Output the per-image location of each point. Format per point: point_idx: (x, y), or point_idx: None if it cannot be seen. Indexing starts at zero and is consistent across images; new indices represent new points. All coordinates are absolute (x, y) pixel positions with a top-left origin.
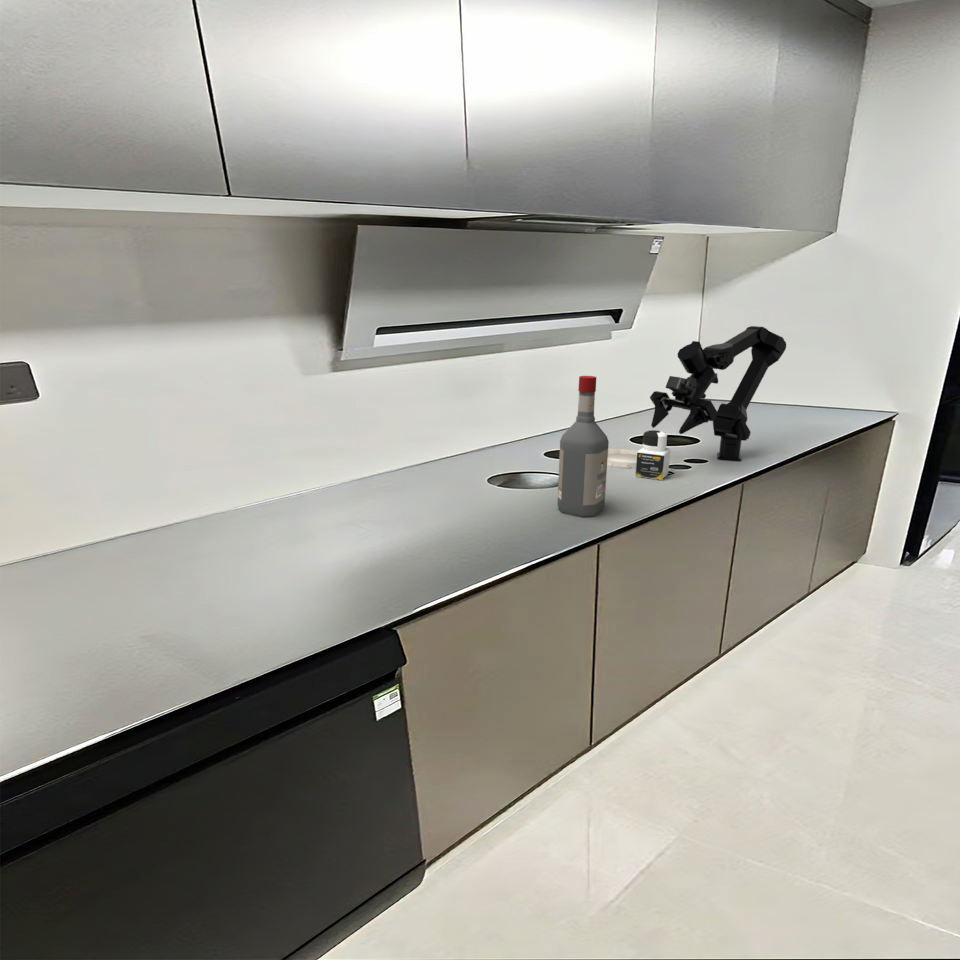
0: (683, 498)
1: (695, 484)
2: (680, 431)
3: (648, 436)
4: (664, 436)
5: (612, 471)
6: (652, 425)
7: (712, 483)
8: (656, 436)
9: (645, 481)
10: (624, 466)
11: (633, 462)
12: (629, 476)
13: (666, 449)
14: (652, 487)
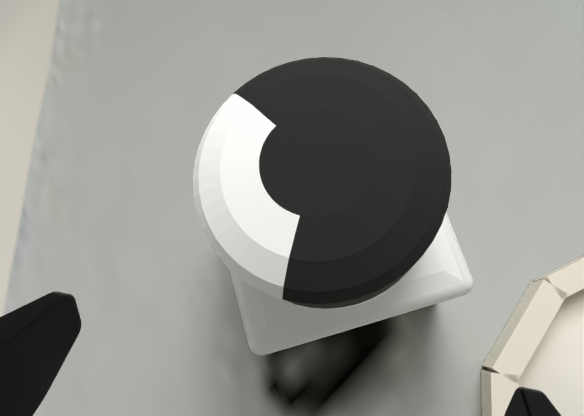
0: (56, 46)
1: (89, 273)
2: (49, 298)
3: (325, 58)
4: (196, 157)
5: (547, 158)
6: (518, 389)
7: None
8: (247, 82)
9: None
10: (555, 270)
11: (534, 322)
12: None
13: (252, 288)
14: (225, 76)
